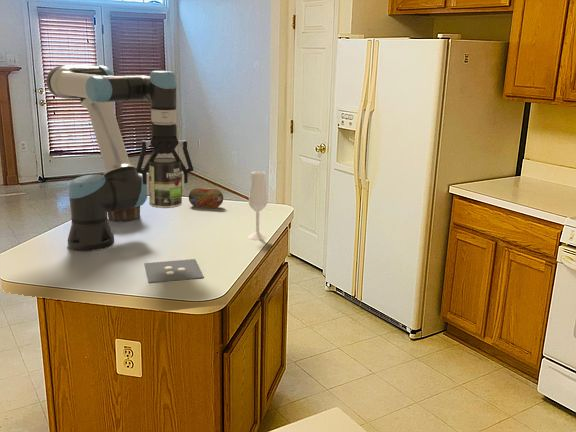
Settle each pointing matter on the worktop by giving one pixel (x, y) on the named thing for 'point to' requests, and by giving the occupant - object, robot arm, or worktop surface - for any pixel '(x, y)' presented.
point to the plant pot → (124, 214)
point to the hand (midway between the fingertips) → (165, 193)
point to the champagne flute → (257, 199)
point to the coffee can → (165, 183)
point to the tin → (206, 197)
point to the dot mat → (173, 270)
